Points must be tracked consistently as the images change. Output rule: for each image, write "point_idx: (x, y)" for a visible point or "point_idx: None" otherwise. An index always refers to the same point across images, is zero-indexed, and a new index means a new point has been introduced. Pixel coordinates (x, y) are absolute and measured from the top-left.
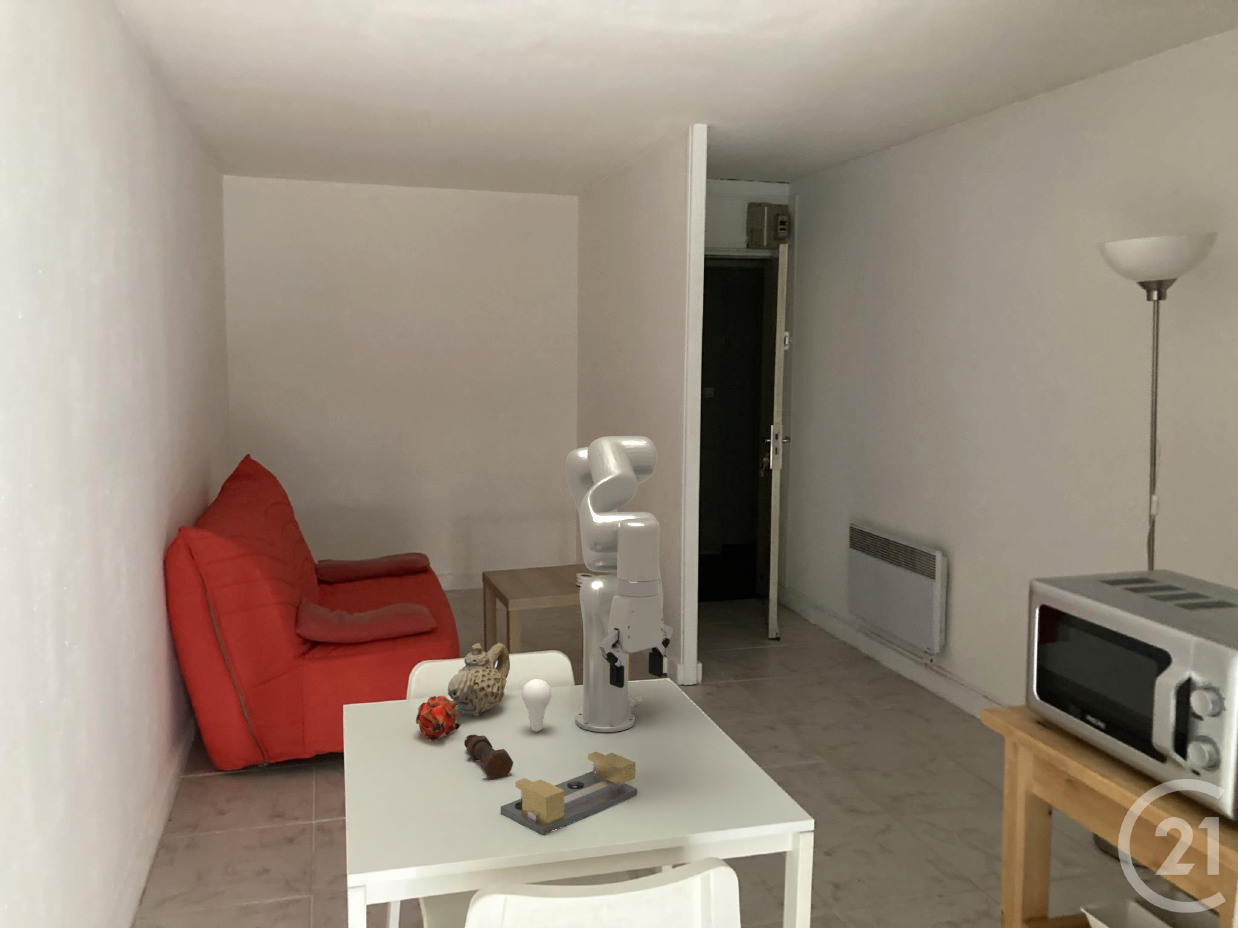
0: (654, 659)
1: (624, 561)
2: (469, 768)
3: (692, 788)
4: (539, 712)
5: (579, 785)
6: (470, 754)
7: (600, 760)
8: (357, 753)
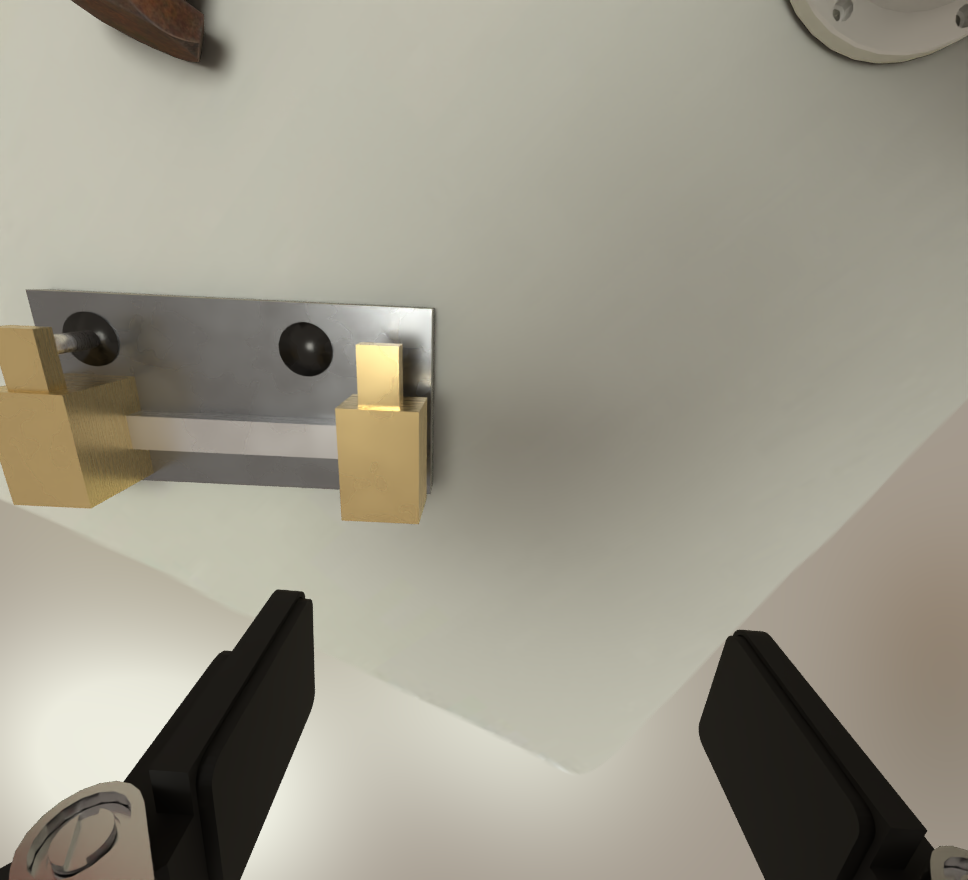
0: (794, 828)
1: None
2: None
3: (567, 558)
4: None
5: (311, 362)
6: None
7: (336, 431)
8: None
